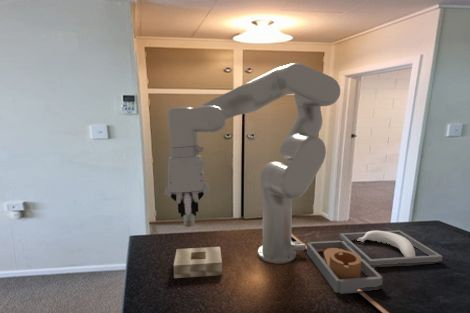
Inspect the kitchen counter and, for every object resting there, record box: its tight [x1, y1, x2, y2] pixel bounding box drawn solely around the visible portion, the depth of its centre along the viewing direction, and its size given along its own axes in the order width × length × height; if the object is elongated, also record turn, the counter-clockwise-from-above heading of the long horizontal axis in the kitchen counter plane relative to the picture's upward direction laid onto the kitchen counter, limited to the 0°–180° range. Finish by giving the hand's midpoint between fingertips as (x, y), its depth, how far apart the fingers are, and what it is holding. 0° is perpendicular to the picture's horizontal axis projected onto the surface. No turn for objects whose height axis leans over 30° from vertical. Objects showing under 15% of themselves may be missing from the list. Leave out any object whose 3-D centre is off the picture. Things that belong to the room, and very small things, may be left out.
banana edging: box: [338, 229, 443, 265], centre depth 98 cm, size 24×20×2 cm
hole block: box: [173, 246, 223, 279], centre depth 89 cm, size 14×10×4 cm
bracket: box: [323, 248, 361, 279], centre depth 87 cm, size 18×8×7 cm, turn 172°
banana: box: [357, 230, 416, 257], centre depth 98 cm, size 5×19×15 cm
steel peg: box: [181, 192, 196, 228], centre depth 83 cm, size 3×3×10 cm
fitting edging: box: [306, 240, 384, 295], centre depth 87 cm, size 13×23×4 cm, turn 6°
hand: (188, 214), depth 83 cm, fingers closed on steel peg, 3 cm apart
